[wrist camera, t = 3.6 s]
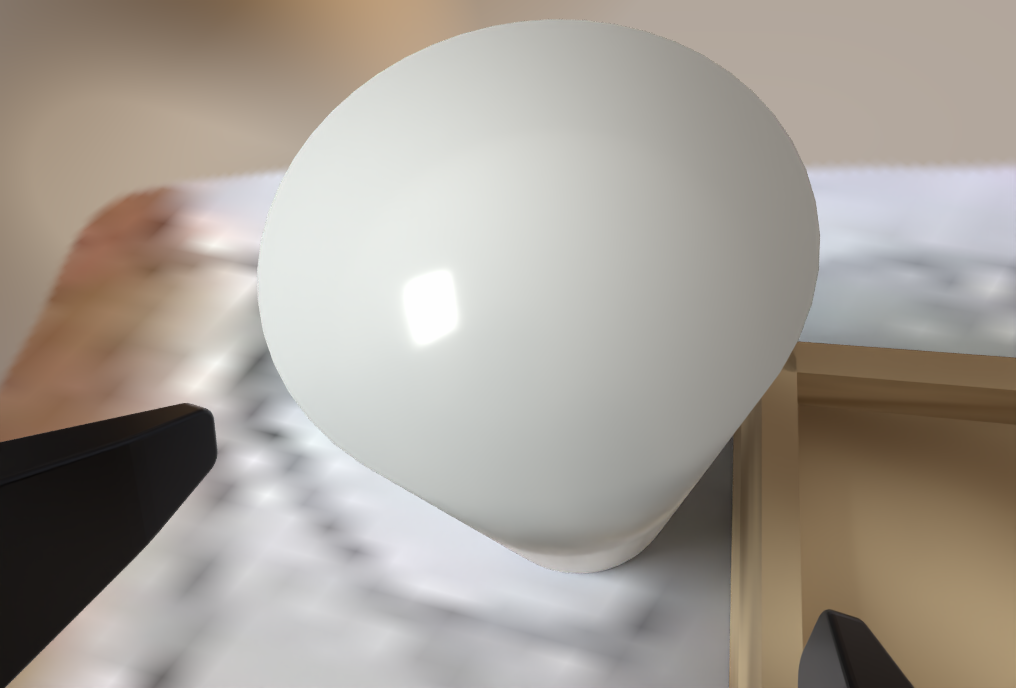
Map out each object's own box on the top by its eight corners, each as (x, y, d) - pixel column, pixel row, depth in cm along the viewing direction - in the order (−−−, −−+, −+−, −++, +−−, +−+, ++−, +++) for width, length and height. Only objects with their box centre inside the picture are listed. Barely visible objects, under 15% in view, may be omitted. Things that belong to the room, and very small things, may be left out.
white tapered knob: (673, 588, 17) (835, 550, 5) (460, 557, 18) (183, 466, 6) (682, 381, 19) (809, 14, 7) (492, 364, 20) (331, 24, 8)
